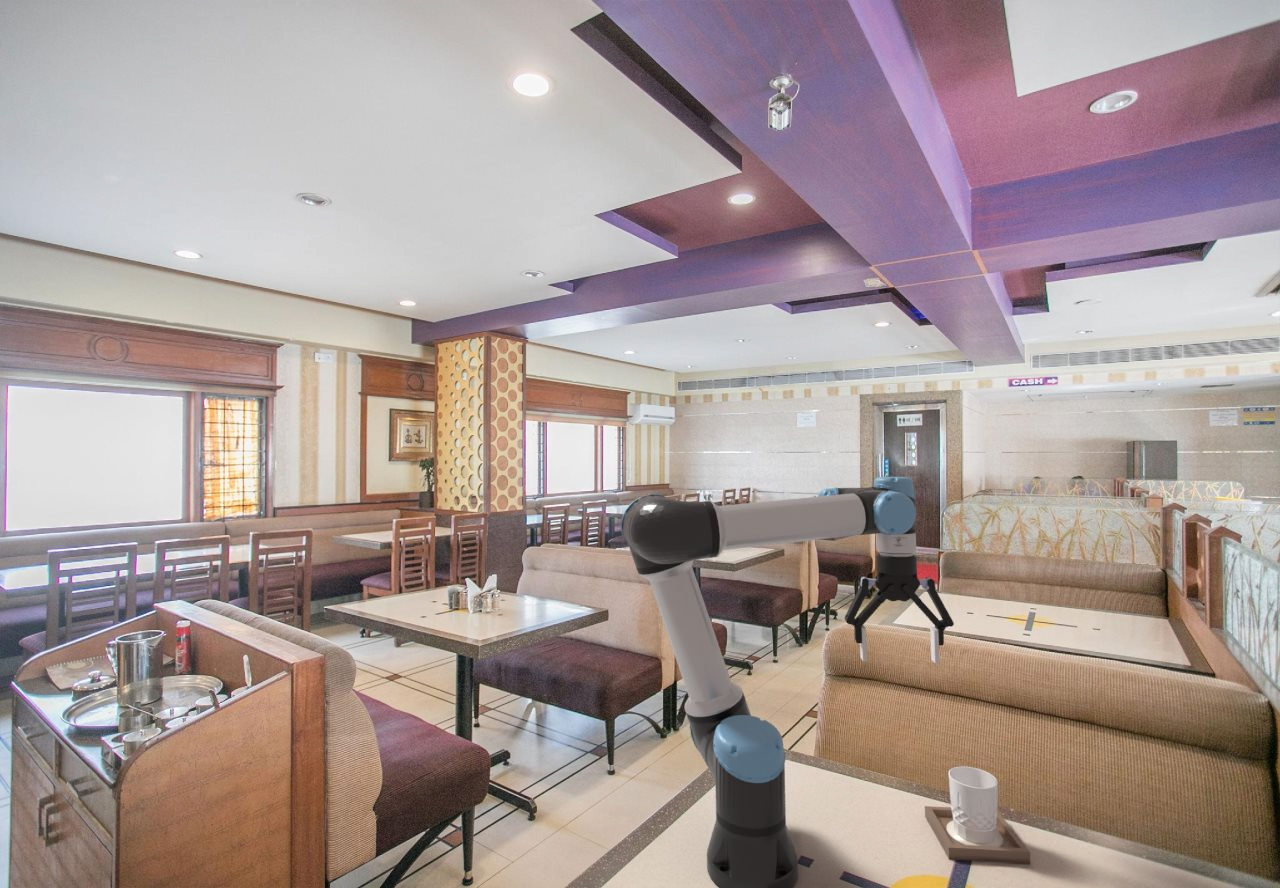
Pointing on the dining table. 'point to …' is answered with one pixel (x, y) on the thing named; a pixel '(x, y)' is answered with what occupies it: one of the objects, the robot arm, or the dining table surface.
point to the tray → (958, 848)
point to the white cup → (973, 803)
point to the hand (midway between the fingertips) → (899, 660)
